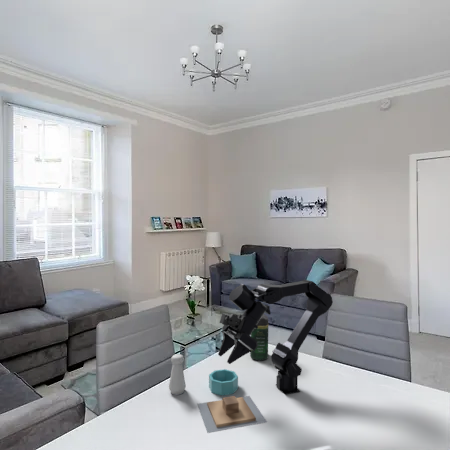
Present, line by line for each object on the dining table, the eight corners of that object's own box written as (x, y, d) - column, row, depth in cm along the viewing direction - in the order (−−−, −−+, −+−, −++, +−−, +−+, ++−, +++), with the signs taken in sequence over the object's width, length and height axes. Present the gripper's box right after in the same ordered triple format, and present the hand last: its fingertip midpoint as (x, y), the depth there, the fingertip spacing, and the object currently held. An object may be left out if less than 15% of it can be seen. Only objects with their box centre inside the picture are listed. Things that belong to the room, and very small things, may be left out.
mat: (249, 397, 110) (249, 395, 110) (267, 423, 96) (267, 421, 96) (196, 405, 105) (196, 403, 105) (207, 434, 91) (207, 432, 91)
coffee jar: (269, 361, 139) (269, 318, 139) (250, 360, 139) (250, 317, 139) (267, 352, 149) (267, 311, 148) (249, 351, 149) (250, 311, 149)
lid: (242, 399, 108) (242, 387, 108) (255, 420, 96) (255, 407, 96) (207, 404, 105) (207, 393, 105) (216, 427, 93) (216, 414, 93)
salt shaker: (182, 398, 110) (182, 359, 109) (166, 396, 111) (166, 358, 111) (187, 389, 115) (188, 353, 115) (172, 387, 116) (172, 351, 116)
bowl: (232, 381, 121) (232, 368, 121) (240, 394, 112) (240, 380, 112) (207, 385, 119) (207, 371, 119) (213, 398, 110) (213, 384, 110)
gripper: (223, 300, 116) (197, 338, 111) (242, 306, 98) (212, 351, 94) (247, 319, 118) (222, 357, 113) (269, 327, 100) (241, 373, 96)
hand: (223, 359), depth 104 cm, fingers open, 9 cm apart
